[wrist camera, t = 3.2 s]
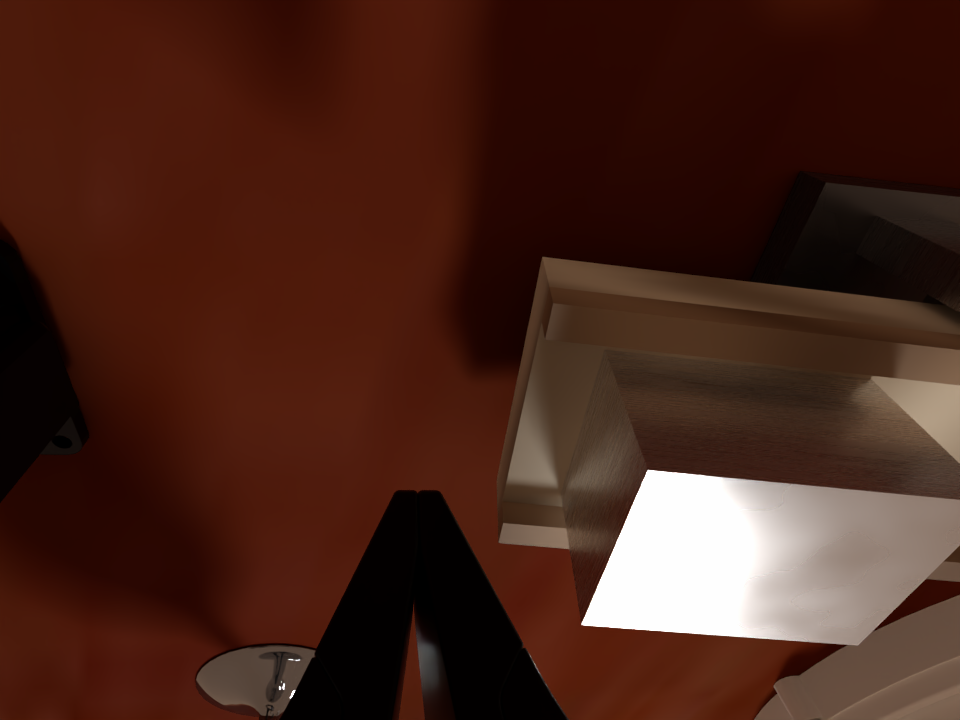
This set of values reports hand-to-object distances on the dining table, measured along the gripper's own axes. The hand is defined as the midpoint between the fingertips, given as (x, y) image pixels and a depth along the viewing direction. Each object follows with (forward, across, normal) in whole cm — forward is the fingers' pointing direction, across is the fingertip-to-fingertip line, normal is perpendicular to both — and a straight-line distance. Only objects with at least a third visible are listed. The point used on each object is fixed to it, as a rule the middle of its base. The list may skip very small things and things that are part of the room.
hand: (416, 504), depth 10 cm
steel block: (+2, -7, 0) cm, 7 cm away
